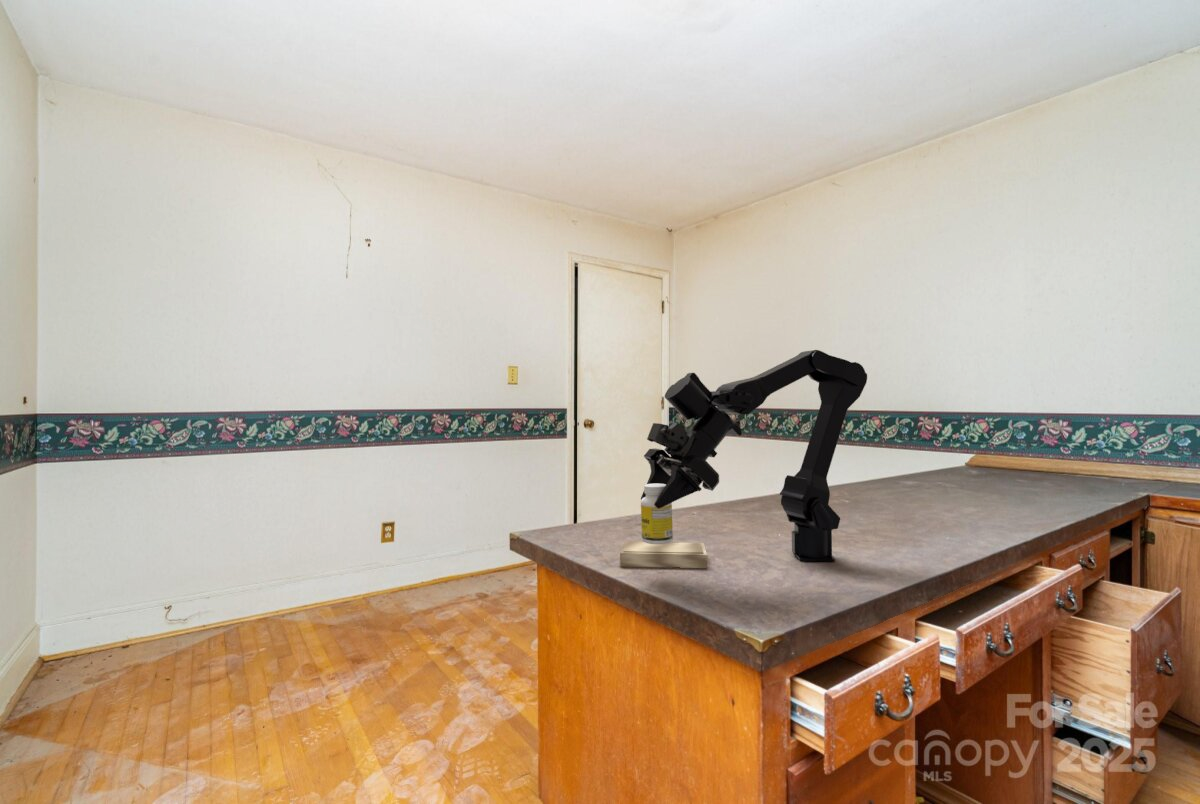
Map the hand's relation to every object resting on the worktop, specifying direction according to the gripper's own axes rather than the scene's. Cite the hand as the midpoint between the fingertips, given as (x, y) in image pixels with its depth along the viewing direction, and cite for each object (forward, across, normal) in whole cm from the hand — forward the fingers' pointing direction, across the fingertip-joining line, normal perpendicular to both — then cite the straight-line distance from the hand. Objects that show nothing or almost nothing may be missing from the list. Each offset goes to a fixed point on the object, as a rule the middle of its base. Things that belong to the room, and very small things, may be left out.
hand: (649, 503), depth 94 cm
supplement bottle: (+4, 0, +6) cm, 7 cm away
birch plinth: (+5, -9, +14) cm, 17 cm away
